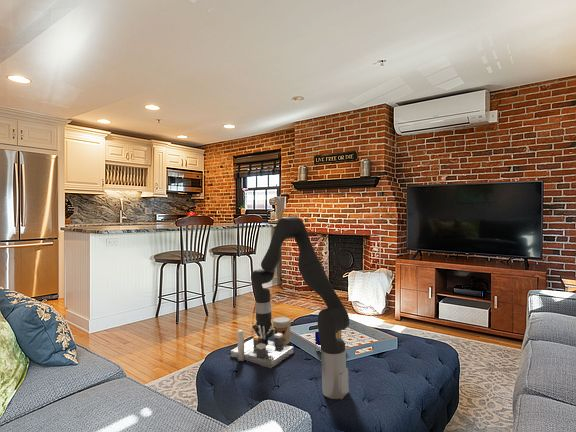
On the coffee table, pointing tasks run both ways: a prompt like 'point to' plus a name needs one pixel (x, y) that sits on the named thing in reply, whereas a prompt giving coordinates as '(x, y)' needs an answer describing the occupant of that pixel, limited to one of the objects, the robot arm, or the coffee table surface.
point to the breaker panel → (272, 353)
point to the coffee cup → (282, 328)
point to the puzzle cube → (338, 335)
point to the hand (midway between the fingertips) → (264, 345)
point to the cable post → (240, 345)
